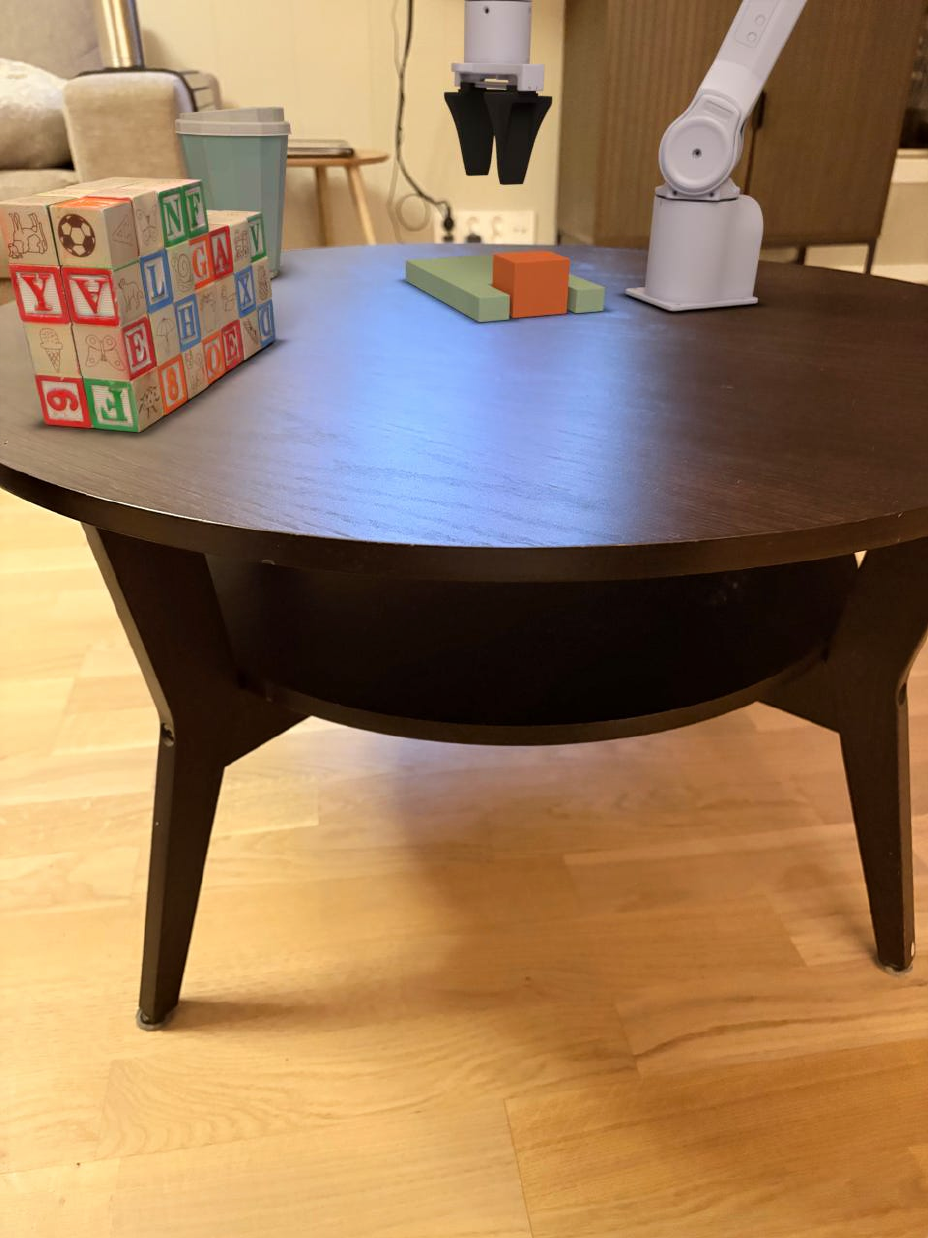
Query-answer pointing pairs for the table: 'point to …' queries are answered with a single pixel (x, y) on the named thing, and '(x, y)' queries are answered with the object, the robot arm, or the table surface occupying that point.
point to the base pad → (486, 287)
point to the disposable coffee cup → (240, 164)
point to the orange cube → (532, 282)
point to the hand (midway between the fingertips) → (493, 179)
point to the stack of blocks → (134, 296)
